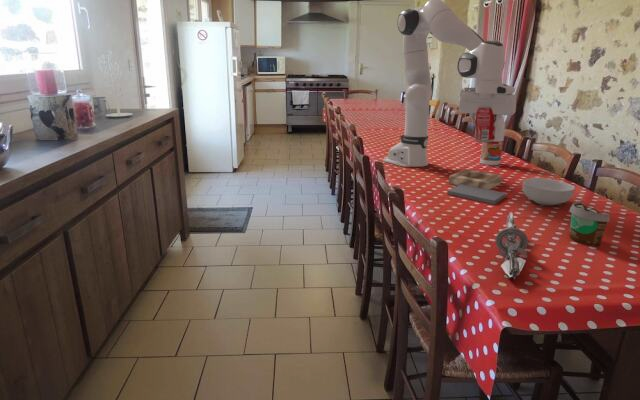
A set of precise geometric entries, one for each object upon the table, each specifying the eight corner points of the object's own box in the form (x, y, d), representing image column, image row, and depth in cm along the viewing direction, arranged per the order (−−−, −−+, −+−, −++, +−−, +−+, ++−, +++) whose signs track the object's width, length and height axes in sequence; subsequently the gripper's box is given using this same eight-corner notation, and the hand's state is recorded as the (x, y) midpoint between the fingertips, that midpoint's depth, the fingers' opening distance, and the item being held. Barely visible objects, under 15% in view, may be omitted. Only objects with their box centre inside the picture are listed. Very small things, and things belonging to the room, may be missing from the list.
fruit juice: (490, 160, 221) (497, 105, 213) (504, 164, 213) (512, 107, 204) (475, 162, 218) (483, 106, 209) (489, 166, 210) (497, 108, 201)
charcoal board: (447, 194, 166) (447, 190, 166) (460, 187, 175) (460, 184, 174) (494, 204, 155) (494, 200, 154) (505, 197, 164) (506, 193, 163)
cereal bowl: (550, 212, 148) (554, 193, 145) (510, 199, 162) (513, 180, 159) (581, 205, 155) (585, 186, 153) (540, 193, 169) (543, 175, 167)
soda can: (496, 143, 159) (499, 107, 155) (476, 143, 160) (479, 107, 156) (492, 139, 166) (495, 105, 162) (472, 139, 167) (475, 105, 163)
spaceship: (529, 208, 127) (504, 196, 128) (540, 272, 97) (507, 255, 98) (514, 229, 131) (490, 217, 132) (520, 296, 101) (489, 279, 102)
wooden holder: (448, 183, 180) (449, 175, 179) (464, 176, 191) (465, 168, 190) (486, 191, 170) (487, 183, 169) (500, 183, 181) (502, 175, 180)
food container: (555, 231, 131) (561, 200, 128) (574, 231, 132) (581, 200, 128) (582, 248, 119) (589, 215, 116) (603, 248, 120) (611, 214, 117)
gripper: (457, 87, 161) (454, 124, 165) (513, 89, 148) (509, 129, 153) (464, 86, 166) (461, 122, 170) (519, 88, 153) (515, 127, 157)
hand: (484, 126), depth 161 cm, fingers closed on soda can, 6 cm apart
